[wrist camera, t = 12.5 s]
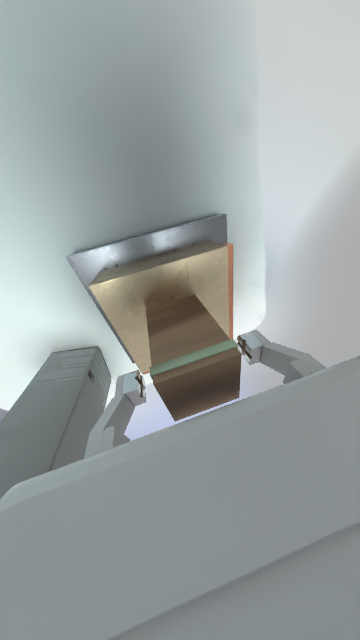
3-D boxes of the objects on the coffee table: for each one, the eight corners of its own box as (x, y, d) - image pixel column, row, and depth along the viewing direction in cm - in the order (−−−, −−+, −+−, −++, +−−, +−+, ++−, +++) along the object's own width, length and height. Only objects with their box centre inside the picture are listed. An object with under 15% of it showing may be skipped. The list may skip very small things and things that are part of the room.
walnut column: (144, 309, 14) (150, 384, 8) (195, 293, 15) (243, 351, 8) (159, 346, 17) (173, 422, 11) (202, 332, 18) (240, 397, 11)
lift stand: (73, 253, 16) (44, 268, 11) (217, 214, 17) (250, 212, 12) (133, 354, 25) (132, 386, 20) (222, 324, 26) (242, 348, 21)
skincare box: (112, 378, 27) (90, 523, 14) (67, 386, 25) (-4, 556, 13) (99, 343, 22) (48, 511, 9) (42, 350, 21) (-108, 563, 8)
